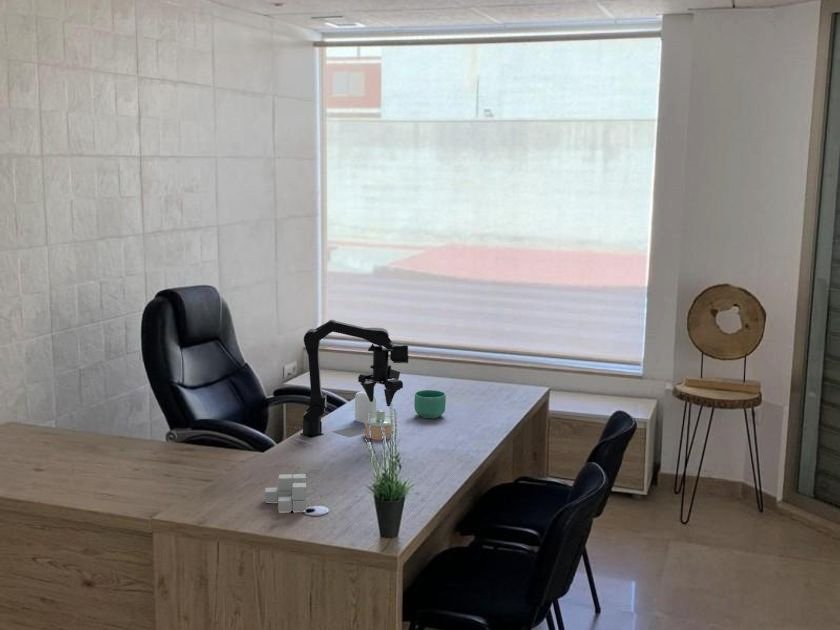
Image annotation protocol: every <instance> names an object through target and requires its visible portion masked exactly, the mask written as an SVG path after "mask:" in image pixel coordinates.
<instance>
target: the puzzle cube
mask: <svg viewBox="0 0 840 630" xmlns="http://www.w3.org/2000/svg"><path fill="white" fill-rule="evenodd" d="M306 475H307V474H305V473H295V474H290V473H289V474H284V473H283V474H278V487H264V503H265V502H278V504H277V512H278V511H304V510H306V511H307V482H306V481H307V480H306V478H307V476H306Z"/></svg>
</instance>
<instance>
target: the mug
mask: <svg viewBox="0 0 840 630" xmlns="http://www.w3.org/2000/svg"><path fill="white" fill-rule="evenodd" d="M446 398H447V397H446V393H445V391H440V390H436V389H435V390H432V389H423V390H418V391H415V393H414V400H413V402H414V405H413V406H414V411H415V412H416V414H417V415H418V416H420V417H421V418H424V419H429V420H430V419H432V420H433V419H437V418H439V417H440V416H442V415H443V414H444V413H445V411H446V403H447V402H446V401H447V399H446Z"/></svg>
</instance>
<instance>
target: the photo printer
mask: <svg viewBox="0 0 840 630" xmlns="http://www.w3.org/2000/svg"><path fill="white" fill-rule="evenodd" d="M376 411H377V398H376V397H375V396H374V397H373V402H370V400H369V398H368V396H367V394H366V392H365V390H363V391H358V392H356V394H355V395H354V421H356V422H359V423H361V424H364V425H365V423H366V422H367V420H368V412H369V414H370V419H372V418H376Z"/></svg>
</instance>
